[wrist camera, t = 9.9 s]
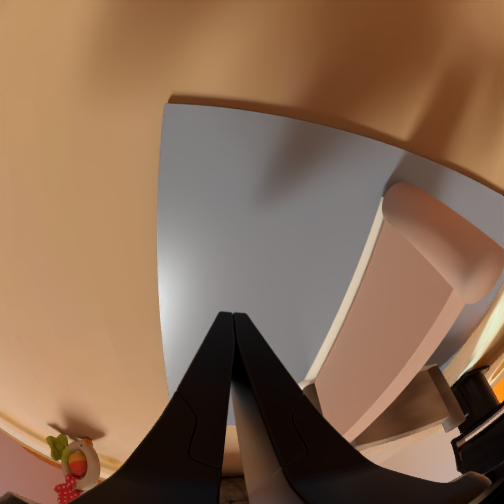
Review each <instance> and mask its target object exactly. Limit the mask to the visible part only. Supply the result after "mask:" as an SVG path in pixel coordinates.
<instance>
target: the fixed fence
mask: <svg viewBox="0 0 504 504" xmlns="http://www.w3.org/2000/svg"><path fill="white" fill-rule="evenodd" d="M302 390H303V394H306V396H307V397H308V398H309V400H310V401H311V402H312V404H313V405H314V406H315V407H316V408H317V410H318V411H319V412H320V413H321V415H322V416H323V413H322V409H321V406H320V402H319V398H318V394H317V390H316V387H315V383H313V384H310V385H308V386H306V387H304V388H303V389H302ZM465 420H466V418H465V416H464V414H463V412H462V410H461V408H460V406H459V404H458V402H457V400H456V398H455V396H454V394H453V392H452V390H451V389H450V387H449V385H448V383H447V381H446V379H445V378H444V376H443V374H442V372H441V370H440V369H439V367H438V365H437V366H433V367H431V368H429V369H428V370H424V371H420V372H418V373H417V374H416V376H415V377H414V378H413V379H412V380H411V382H410V383H409V384H408V385H407V386H406V387H405V389H404V390H403V391H402V392H401V393H400V394H399V395H398V396H397V398H396V399H395V400H394V401H393V402H392V403H391V404H390V405H389V406H388V407H387V408H386V409H385V410H384V411H383V412H382V413H381V414H380V415H379V416H378V417H377V418H376V419H375V420H374V421H373V422H372V423H371V424H370V425H369V426H368V427H367V428H366V429H365V430H364V431H363V432H362V433H361V434H359V435H358V436H357V437H356V438H355V439H354V440H353V441H352V442H350V444H351V445H352V446H353V447H354V448H355V449H356V450H361V449H365V448H369V447H373V446H377V445H380V444H384V443H387V442H391V441H394V440H397V439H400V438H403V437H406V436H409V435H412V434H415V433H418V432H420V431H423V430H426V429H428V428H431V427H433V426H436V425H438V424H441V423H442V425H443V428H444V430H445V432H446V433H447V432H449V431H451V430H453V429H454V428H456V427H457V426H459V425H460V424H461V423H463V422H464V421H465Z"/></svg>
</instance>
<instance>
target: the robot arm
mask: <svg viewBox="0 0 504 504" xmlns="http://www.w3.org/2000/svg"><path fill="white" fill-rule="evenodd" d="M489 369H490V366H489V365H488V366H485V367H483V368H480V369H477V370H475V371H472V372H469V373H467V374H465V375H464V376H463V377H462V378H461V379H460V380H459V381H458V382H457V383H456V385H455V386H454V387H453V388H452V389H451V390H452V392H453V394H454V396H455V398H456V400H457V402H458V404H459V406H460V408H461V410H462V412H463V414H464V416H465V418H466V420H465V421H464V422H463V423H461V424H460V425H459V426H457V427H458V429H459V431H460V433H461V435H460V436H458V437H456V438H454V439H453V440H452V441H451V444H452V447H453V451H454V454H455V459H456V466H457V471H458V472H461V473H462V475H461V476H459V477H458V478H456V479H454V480H452V481H450V482H448V483H439V482H433V481H429V480H424V479H421V478H417V477H413V476H409V475H406V474H402V473H399V472H396V471H392V470H389V469H386V468H383V467H380V466H378V465H376V464H374V463H373V462H371V461H369V460H368V459H367V458H365V457H364V456H363V455H362V454H361V453H360V452H359V451H358V450H356V449H355V448H354V447H353V446H352V445H351V444H350V443H349V442H348V441H347V440H346V439H345V438H344V437H343V436H342V435H341V434H340V433H339V432H338V431H337V430H336V429H335V428H334V427H333V426H332V425H331V424H330V423H329V422H328V421H327V420H326V419H325V418H324V417H323V416H322V415H321V413H320V412H319V411H318V410H317V408H316V407H315V406H314V405H313V404H312V402H311V401H310V400H309V398H308V397H307V396H306V394H303V390H302V389H301V388H300V387H299V385H298V384H297V382H296V381H295V380H294V378H293V377H292V376H291V374H290V373H289V372H288V370H287V369H286V368H285V366H284V365H283V364H282V362H281V361H280V359H279V358H278V357H277V355H276V354H275V353H274V351H273V350H272V348H271V347H270V346H269V344H268V343H267V341H266V340H265V339H264V337H263V336H262V334H261V333H260V332H259V330H258V329H257V327H256V326H255V324H254V323H253V322H252V320H251V319H250V317H249V316H248V315H247V314H246V313H241V312H234V313H233V314H232V312H227V311H220V312H218V314H217V316H216V318H215V320H214V321H213V323H212V325H211V327H210V329H209V331H208V332H207V334H206V336H205V338H204V340H203V342H202V343H201V345H200V347H199V349H198V351H197V352H196V354H195V356H194V358H193V360H192V362H191V363H190V365H189V367H188V369H187V371H186V373H185V374H184V376H183V378H182V380H181V382H180V384H179V385H178V387H177V389H176V391H175V392H174V394H173V396H172V398H171V400H170V401H169V403H168V405H167V406H166V408H165V410H164V411H163V413H162V415H161V416H160V418H159V419H158V420H157V422H156V423H155V425H154V426H153V427H152V429H151V430H150V431H149V433H148V434H147V435H146V437H145V438H144V439H143V440H142V442H141V443H140V444H139V445H138V447H137V448H136V449H135V450H134V452H133V453H132V454H131V456H130V457H129V458H128V459H127V460H126V462H125V463H124V464H123V465H122V466H121V467H120V468H119V469H118V470H117V471H116V472H115V473H114V474H113V475H111V476H110V477H109V478H107V479H106V480H104V481H103V482H101V483H100V484H98V485H96V486H95V487H93V488H92V489H90V490H88V491H87V492H85V493H84V494H82V495H80V496H79V497H77V498H75V499H73V500H72V501H70V502H68V503H66V504H219V501H220V484H221V474H222V472H221V470H222V464H223V454H224V445H225V436H226V426H227V417H228V408H229V399H230V389H231V396H232V403H233V410H234V416H235V423H236V429H237V435H238V442H239V448H240V454H241V460H242V465H243V471H244V476H245V482H246V487H247V493H248V496H249V497H248V498H249V503H250V504H504V413H503V414H502V415H500V416H499V417H498V418H497V419H496V420H494V421H493V422H492V423H491V424H489V425H488V426H487V427H486V428H484V429H483V430H482V431H480V432H479V433H478V434H476V435H475V436H473V437H472V438H471V439H469V440H468V441H465V439H466V438H467V437H469V436H470V435H472V434H473V433H474V432H476V431H477V430H478V429H480V428H481V427H482V426H484V425H485V424H486V423H487V422H489V421H490V420H491V419H492V418H494V417H495V416H496V415H497V414H498V413H499V412H501V411H502V410H503V409H504V401H503V402H502V403H499V401H498V399H497V397H496V395H495V394H494V392H493V390H492V388H491V387H490V385H489V383H488V381H487V380H486V378H485V376H484V375H485V374H486V372H487V371H488V370H489ZM0 504H40V503H37V502H35V501H32V500H30V499H27V498H25V497H23V496H20V495H18V494H15V493H13V492H6V493H5V494H4V495H3V496H2V497H0Z"/></svg>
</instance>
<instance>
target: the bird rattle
mask: <svg viewBox="0 0 504 504" xmlns="http://www.w3.org/2000/svg"><path fill="white" fill-rule="evenodd" d="M46 440H47V443H48V444H49V446H50V448H51V457H52V459H53V460H54V461H58V460H61V461H62V471H63V474H64V477H65V481H66V483H63V484H59V485H57V486H55V488H54V490H55V491H56V492H57V493H58V494H59V495H58V500H57V501H58V503H59V504H66V503H68V502H70V501H72V500H73V499H75V498H77V497H79V496H80V495H82V492H83V491H84V490H89V489H91V488H93V487H94V486H95V485H96V483H97V481H98V479H99V476H100V462H99V458H98V455H97V453H96V451H95V449H94V448H93V443H92V441H91V440H90V439H88V438H84V439H82V440H81V441H74V442H72V443H70V444H69V445H68V439H67V437H66V436H65V435H64V434H60V435H59V436H58V437H57V438H55V437H53V436H48V437H47V438H46ZM80 477H82V478H80Z"/></svg>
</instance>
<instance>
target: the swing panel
mask: <svg viewBox="0 0 504 504" xmlns="http://www.w3.org/2000/svg"><path fill="white" fill-rule="evenodd" d="M382 213H383V216H384V218H385V221H384V224H383V227H382V230H381V233H380V236H379V239H378V242H377V244H376V247H375V250H374V253H373V255H372V258H371V261H370V263H369V266H368V268H367V271H366V274H365V276H364V279H363V281H362V284H361V286H360V288H359V291H358V293H357V296H356V298H355V300H354V303H353V305H352V307H351V309H350V312H349V314H348V316H347V318H346V321H345V323H344V325H343V327H342V329H341V331H340V333H339V335H338V338H337V340H336V342H335V344H334V346H333V348H332V350H331V352H330V354H329V356H328V358H327V360H326V362H325V363H324V365H323V367H322V369H321V371H320V373H319V375H318V377H317V378H316V380H315V382H314V383H315V387H316V390H317V394H318V398H319V402H320V406H321V409H322V413H323V417H324V418H325V419H326V420H327V421H328V422H329V423H330V424H331V425H332V426H333V427H334V428H335V429H336V430H337V431H338V432H339V433H340V434H341V435H342V436H343V437H344V438H345V439H346V440H347V441H348V442H349V443H350V442H352V441H353V440H354V439H355V438H356V437H357V436H358V435H359V434H361V433H362V432H363V431H364V430H365V429H366V428H367V427H368V426H369V425H370V424H371V423H372V422H373V421H374V420H375V419H376V418H377V417H378V416H379V415H380V414H381V413H382V412H383V411H384V410H385V409H386V408H387V407H388V406H389V405H390V404H391V403H392V402H393V401H394V400H395V399H396V398H397V396H398V395H399V394H400V393H401V392H402V391H403V390H404V389H405V387H406V386H407V385H408V384H409V383H410V382H411V380H412V379H413V378H414V377H415V376H416V374H417V373H418V372H419V371H420V369H421V368H422V367H423V366H424V364H425V363H426V362H427V360H428V359H429V358H430V357H431V355H432V354H433V353H434V351H435V350H436V348H437V347H438V346H439V344H440V343H441V341H442V340H443V339H444V337H445V336H446V334H447V333H448V331H449V330H450V328H451V327H452V325H453V324H454V322H455V320H456V319H457V317H458V316H459V314H460V312H461V311H462V309H463V307H464V306H465V304H473V303H475V302H478V301H479V300H481V299H482V298H483V297H484V296H486V295H487V294H488V293H489V292H490V290H491V289H492V288H493V287H494V285H495V284H496V282H497V281H498V279H499V277H500V275H501V273H502V270H503V267H504V249H503V248H502V247H501V246H500V245H499V244H498V243H496V242H495V241H494V240H493V239H491V238H490V237H489V236H488V235H486V234H485V233H484V232H483V231H481V230H480V229H479V228H477V227H476V226H475V225H473V224H472V223H471V222H469V221H468V220H467V219H465V218H464V217H462V216H461V215H460V214H458V213H457V212H455V211H454V210H453V209H451V208H450V207H448V206H447V205H445V204H444V203H442V202H441V201H439V200H438V199H436V198H435V197H433V196H431V195H430V194H428V193H427V192H425V191H424V190H422V189H420V188H419V187H417V186H415V185H414V184H412V183H410V182H407V181H401V182H398V183H396V184H394V185H393V186H391V187H390V188H389V190H388V191H387V192H386V194H385V196H384V199H383V202H382Z"/></svg>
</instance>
